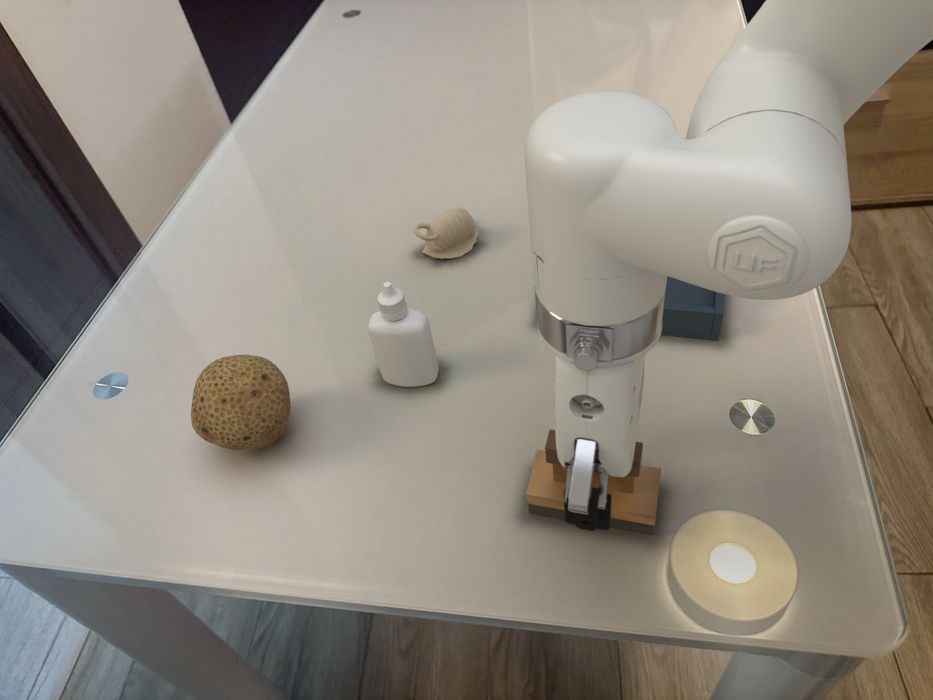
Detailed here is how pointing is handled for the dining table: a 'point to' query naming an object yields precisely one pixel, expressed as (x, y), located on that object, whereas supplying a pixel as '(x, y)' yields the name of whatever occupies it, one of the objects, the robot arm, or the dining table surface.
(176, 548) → the dining table surface
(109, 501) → the dining table surface
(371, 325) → the eye dropper bottle
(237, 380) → the natural sponge
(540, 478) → the brush
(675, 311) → the tray
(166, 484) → the dining table surface
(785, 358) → the dining table surface
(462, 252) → the decorative ornament
